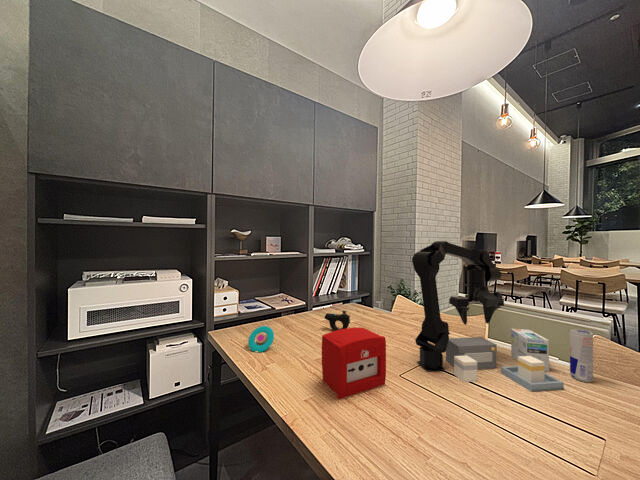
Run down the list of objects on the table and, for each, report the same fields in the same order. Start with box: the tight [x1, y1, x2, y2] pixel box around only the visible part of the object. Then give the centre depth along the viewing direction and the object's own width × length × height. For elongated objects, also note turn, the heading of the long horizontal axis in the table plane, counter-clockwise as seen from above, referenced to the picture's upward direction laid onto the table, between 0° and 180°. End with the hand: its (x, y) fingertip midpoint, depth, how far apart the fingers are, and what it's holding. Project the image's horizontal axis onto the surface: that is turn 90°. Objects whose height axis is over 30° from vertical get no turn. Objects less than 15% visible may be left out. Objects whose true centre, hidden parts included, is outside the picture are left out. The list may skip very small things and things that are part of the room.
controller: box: [324, 310, 351, 331], centre depth 122 cm, size 4×12×10 cm, turn 70°
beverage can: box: [569, 328, 594, 383], centre depth 81 cm, size 5×5×15 cm
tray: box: [500, 365, 565, 393], centre depth 79 cm, size 11×11×2 cm
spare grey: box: [453, 355, 478, 383], centre depth 81 cm, size 5×5×6 cm
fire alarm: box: [321, 327, 387, 400], centre depth 77 cm, size 16×11×15 cm
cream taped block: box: [517, 356, 545, 383], centre depth 79 cm, size 5×5×6 cm
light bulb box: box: [510, 328, 550, 372], centre depth 91 cm, size 11×7×11 cm, turn 168°
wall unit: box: [445, 336, 498, 370], centre depth 90 cm, size 14×8×8 cm, turn 97°
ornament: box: [248, 325, 275, 353], centre depth 103 cm, size 11×4×10 cm
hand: (476, 323), depth 97 cm, fingers open, 9 cm apart
